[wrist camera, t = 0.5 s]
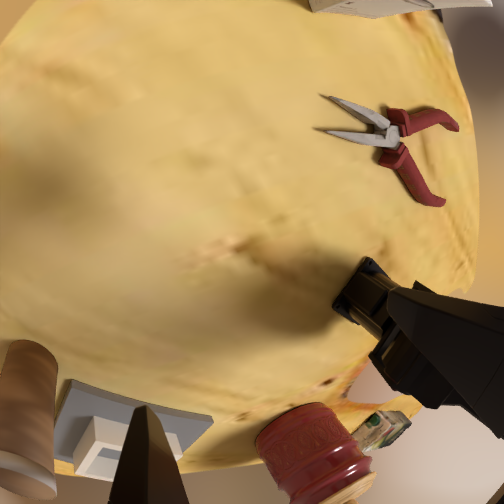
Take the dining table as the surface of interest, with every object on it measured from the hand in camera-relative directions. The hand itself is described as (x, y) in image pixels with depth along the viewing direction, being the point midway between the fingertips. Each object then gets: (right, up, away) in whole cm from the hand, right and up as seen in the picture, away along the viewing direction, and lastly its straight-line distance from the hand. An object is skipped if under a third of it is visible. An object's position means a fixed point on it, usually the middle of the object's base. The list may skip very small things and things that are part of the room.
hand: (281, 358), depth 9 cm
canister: (+5, -23, +29) cm, 38 cm away
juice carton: (+29, -38, +48) cm, 68 cm away
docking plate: (-16, -18, +16) cm, 29 cm away
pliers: (+14, +16, +16) cm, 27 cm away
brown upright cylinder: (-20, -6, +9) cm, 22 cm away
